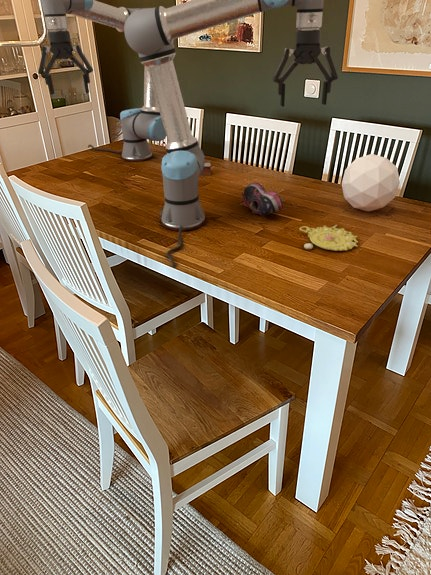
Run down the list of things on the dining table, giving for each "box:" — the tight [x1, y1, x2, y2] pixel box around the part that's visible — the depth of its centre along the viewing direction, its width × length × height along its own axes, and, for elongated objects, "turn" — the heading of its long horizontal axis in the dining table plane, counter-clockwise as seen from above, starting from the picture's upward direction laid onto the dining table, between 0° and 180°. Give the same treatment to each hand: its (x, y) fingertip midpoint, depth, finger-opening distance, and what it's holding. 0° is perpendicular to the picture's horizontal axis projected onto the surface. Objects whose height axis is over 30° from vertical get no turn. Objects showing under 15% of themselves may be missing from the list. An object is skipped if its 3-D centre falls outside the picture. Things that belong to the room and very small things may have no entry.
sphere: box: [341, 153, 401, 213], centre depth 157 cm, size 19×20×20 cm
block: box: [199, 162, 212, 177], centre depth 199 cm, size 5×5×4 cm
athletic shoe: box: [238, 182, 284, 217], centre depth 160 cm, size 11×22×12 cm
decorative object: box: [299, 224, 359, 252], centre depth 141 cm, size 21×2×20 cm
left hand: (70, 93), depth 172 cm, fingers open, 13 cm apart
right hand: (303, 104), depth 144 cm, fingers open, 13 cm apart
